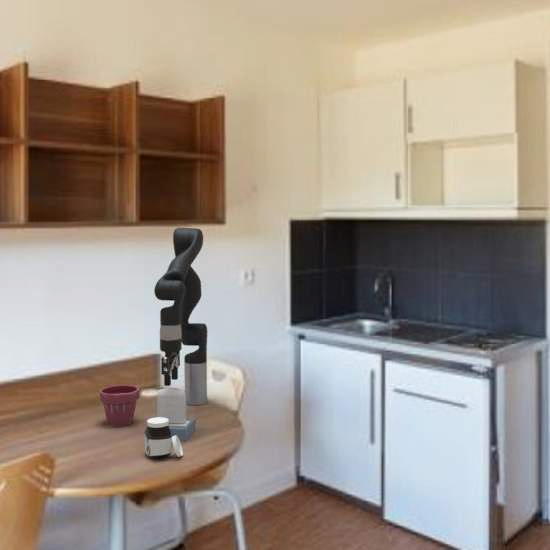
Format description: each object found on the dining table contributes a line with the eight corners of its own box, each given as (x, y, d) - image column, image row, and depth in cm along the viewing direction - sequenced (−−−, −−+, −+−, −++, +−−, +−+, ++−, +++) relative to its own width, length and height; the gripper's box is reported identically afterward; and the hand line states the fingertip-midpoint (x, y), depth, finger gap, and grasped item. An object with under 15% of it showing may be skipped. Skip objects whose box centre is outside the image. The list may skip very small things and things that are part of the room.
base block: (158, 427, 242) (158, 416, 242) (195, 429, 240) (195, 418, 240) (146, 439, 229) (146, 427, 229) (185, 441, 227) (185, 429, 227)
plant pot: (92, 425, 245) (91, 391, 244) (117, 415, 257) (117, 382, 256) (122, 430, 238) (122, 395, 237) (147, 420, 251) (146, 387, 250)
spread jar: (141, 452, 216) (141, 417, 215) (174, 447, 221) (174, 413, 221) (154, 464, 206) (153, 428, 205) (188, 458, 211) (187, 422, 210)
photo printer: (156, 424, 233) (155, 389, 232) (158, 420, 237) (158, 386, 236) (185, 424, 232) (184, 389, 231) (187, 420, 237) (187, 386, 236)
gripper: (166, 333, 239) (166, 377, 241) (153, 340, 225) (154, 387, 227) (186, 333, 238) (186, 378, 240) (175, 341, 224) (175, 388, 226)
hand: (171, 382), depth 233 cm, fingers open, 8 cm apart
